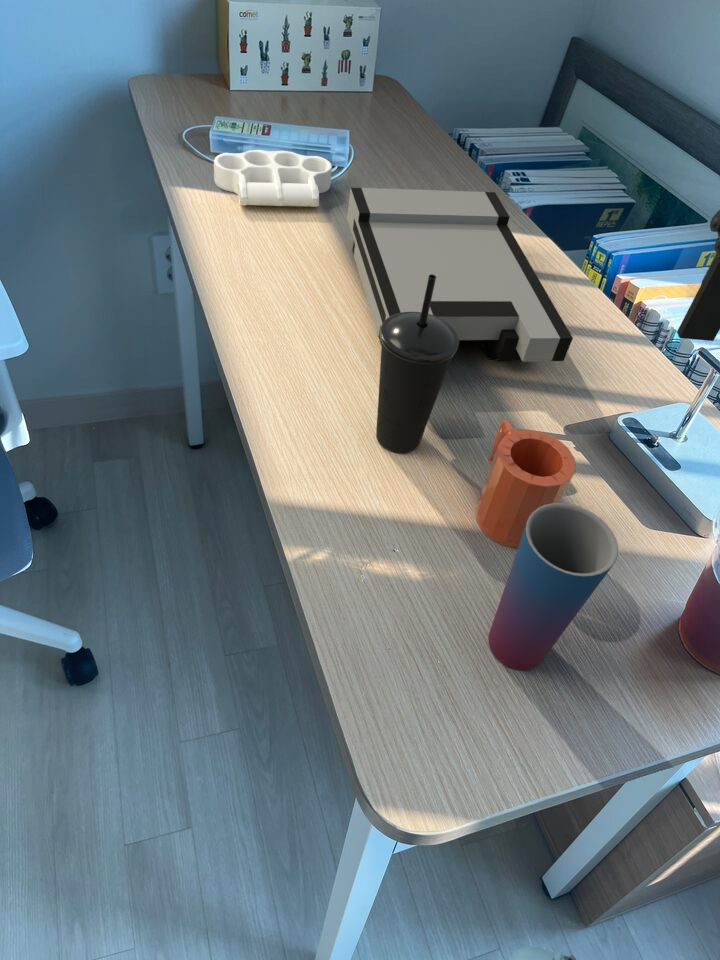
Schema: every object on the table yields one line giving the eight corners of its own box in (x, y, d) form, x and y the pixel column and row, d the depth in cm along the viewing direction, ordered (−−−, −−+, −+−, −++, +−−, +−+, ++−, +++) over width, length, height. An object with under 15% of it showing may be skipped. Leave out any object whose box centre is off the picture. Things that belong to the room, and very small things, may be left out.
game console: (387, 388, 87) (398, 330, 81) (344, 242, 108) (350, 187, 102) (554, 384, 91) (576, 329, 86) (481, 244, 112) (495, 192, 107)
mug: (558, 542, 74) (589, 481, 68) (491, 552, 72) (516, 490, 66) (517, 467, 81) (541, 404, 74) (455, 475, 79) (474, 411, 72)
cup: (565, 636, 67) (629, 529, 56) (538, 694, 63) (601, 592, 52) (496, 598, 69) (545, 488, 58) (465, 653, 65) (511, 546, 54)
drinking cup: (400, 404, 86) (433, 245, 71) (447, 444, 82) (492, 285, 68) (348, 430, 82) (372, 267, 67) (395, 473, 78) (431, 310, 64)
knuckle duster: (218, 211, 110) (212, 164, 120) (339, 213, 114) (324, 168, 123) (217, 189, 108) (211, 143, 117) (341, 192, 111) (326, 147, 121)
